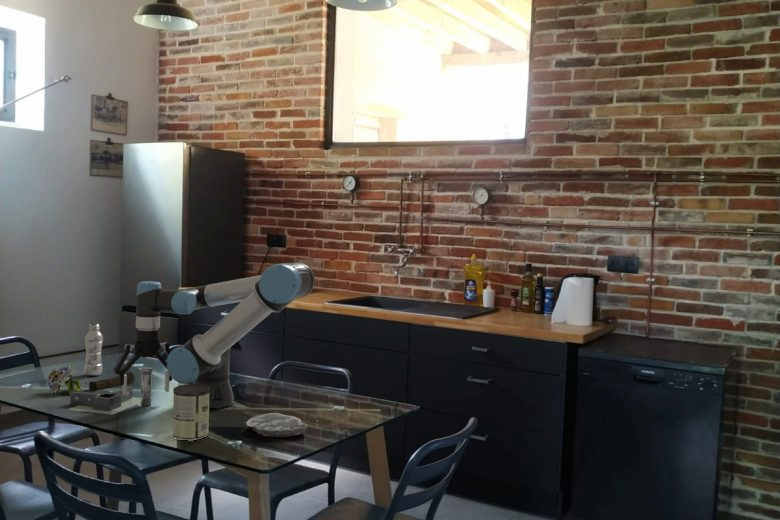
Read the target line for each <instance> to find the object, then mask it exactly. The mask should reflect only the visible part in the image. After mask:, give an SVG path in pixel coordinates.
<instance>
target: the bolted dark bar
mask: <svg viewBox="0 0 780 520" xmlns="http://www.w3.org/2000/svg"><path fill="white" fill-rule="evenodd" d="M111 393H112V394H121V402H123V401H126V400H128V399H131V398H132V397H133V386H131V385H129V386H128V385H127V391H126V396H124V395H123V394H122V388H120V389H118V390H114V391H113V392H111Z"/></svg>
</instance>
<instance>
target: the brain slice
mask: <svg viewBox="0 0 780 520" xmlns="http://www.w3.org/2000/svg"><path fill="white" fill-rule="evenodd" d="M245 424H246V426H247V427H249V428H251V430H252V431H253V430H254V431H256V432H257V433H258V434H257V433H256V434H257V435H259V434H268V435H290V434H298V433H302V432H305V431H306V432H307V430H308V427H309V425H308V424H306V423H305V422H303V421H302V420H301V418H299V417H296V416H293V415H286V414H282V413H279V412H272V413H270V412H269V413H264V414H263V413H262V414H258V415H253V417H250V418H249V419H248V420H246V422H245ZM254 431H253V432H254ZM306 432H305V433H306Z"/></svg>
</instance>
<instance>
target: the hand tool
mask: <svg viewBox="0 0 780 520" xmlns="http://www.w3.org/2000/svg"><path fill="white" fill-rule="evenodd" d="M125 374H126V375H127V386H128V385H129V386H130V385H131V383H132V384H133V383H135V380H136V379H135V378H136V377H135V374H134V372H133V371H127V372H126V373H125ZM88 384H89V385H88V390H89V391H95V392H97V391H101V390H105V389H110V388H114V387H117V386H121V385H120V384H119V375H118V376H114V377H110V378H105V379H101V380H100V379H99V380H96V381H90V382H89V383H88Z"/></svg>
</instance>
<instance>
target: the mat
mask: <svg viewBox="0 0 780 520" xmlns="http://www.w3.org/2000/svg"><path fill="white" fill-rule="evenodd" d="M138 404H141V397H134V396H132V398H131V399H128V400H126V401H123V402H121V407H119V408H117V409H114V410H112V411H103V410H93V407H88V406H79V405H75V406H74V407H70V408H68V411H77V412H86V413H94V414H95V413H96V414H101V415H103V414H104V415H112V416H113V415H115V414H118V413H119V412H122V411H124V410H127V409H130V408H131V407H134V406H136V405H138Z"/></svg>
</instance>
